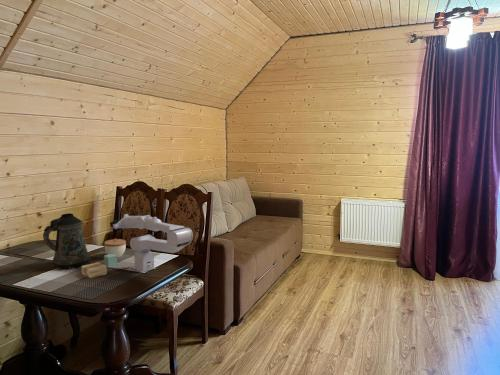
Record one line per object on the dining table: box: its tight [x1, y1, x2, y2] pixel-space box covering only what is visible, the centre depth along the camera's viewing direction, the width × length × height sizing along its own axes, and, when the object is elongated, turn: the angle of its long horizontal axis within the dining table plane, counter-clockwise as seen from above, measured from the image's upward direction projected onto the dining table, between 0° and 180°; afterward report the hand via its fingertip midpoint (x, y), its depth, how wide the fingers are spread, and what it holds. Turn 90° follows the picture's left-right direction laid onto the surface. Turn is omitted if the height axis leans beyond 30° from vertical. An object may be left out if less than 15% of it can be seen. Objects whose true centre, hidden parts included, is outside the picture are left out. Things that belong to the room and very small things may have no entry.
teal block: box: [103, 254, 118, 269], centre depth 192 cm, size 4×4×5 cm
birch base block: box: [81, 261, 108, 279], centre depth 181 cm, size 8×8×4 cm
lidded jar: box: [103, 237, 127, 259], centre depth 207 cm, size 11×11×9 cm
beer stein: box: [42, 212, 90, 270], centre depth 190 cm, size 16×19×25 cm
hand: (117, 222), depth 200 cm, fingers open, 7 cm apart
